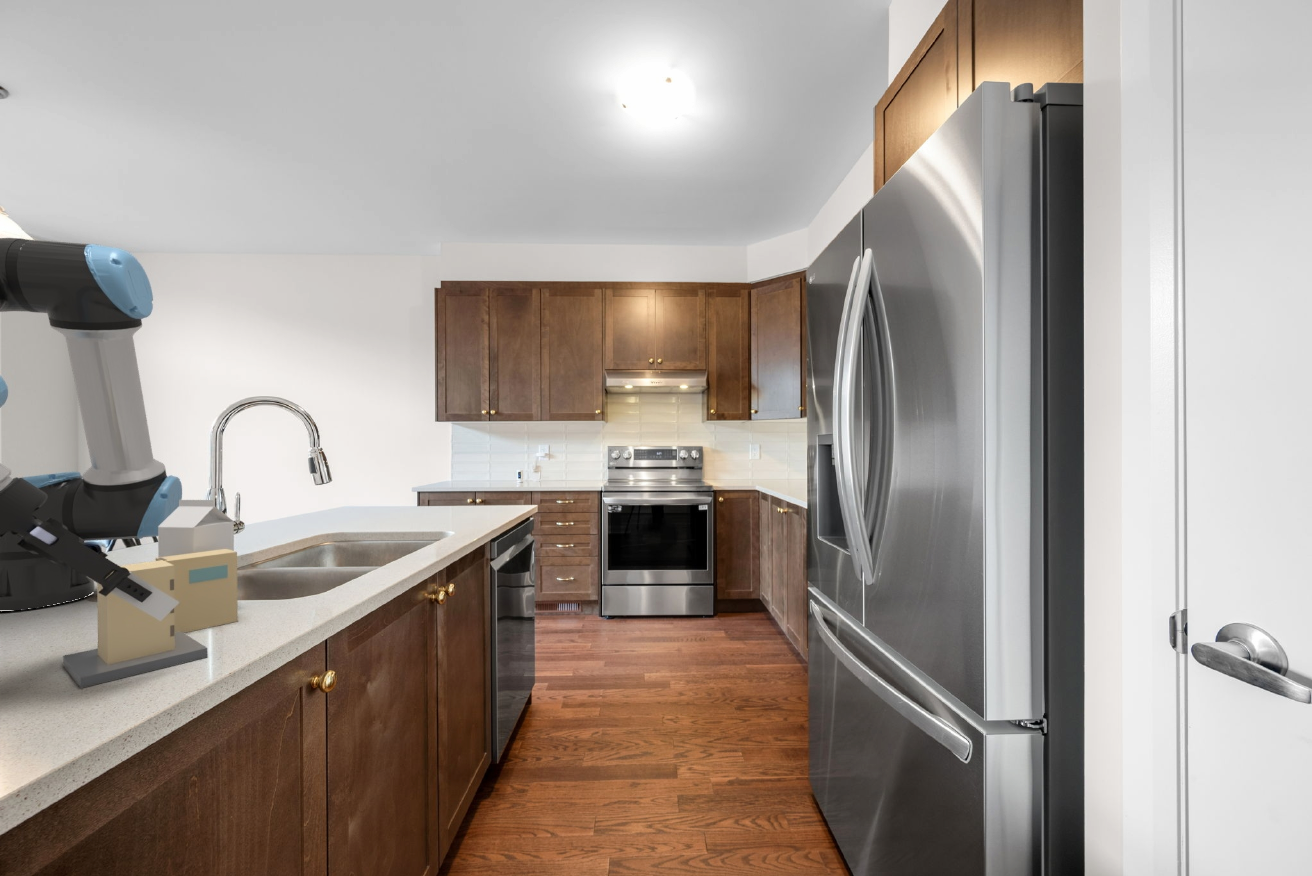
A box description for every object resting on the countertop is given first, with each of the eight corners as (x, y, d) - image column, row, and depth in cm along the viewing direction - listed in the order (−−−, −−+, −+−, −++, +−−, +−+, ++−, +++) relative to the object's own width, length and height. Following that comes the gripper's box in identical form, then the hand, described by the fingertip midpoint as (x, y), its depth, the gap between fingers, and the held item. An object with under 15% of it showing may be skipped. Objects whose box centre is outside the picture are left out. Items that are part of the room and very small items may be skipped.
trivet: (63, 665, 75) (63, 655, 75) (180, 639, 84) (180, 631, 84) (80, 688, 67) (80, 677, 67) (207, 657, 77) (207, 648, 77)
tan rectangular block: (97, 654, 75) (97, 568, 75) (162, 640, 80) (161, 560, 80) (107, 664, 71) (107, 574, 71) (175, 649, 76) (174, 565, 77)
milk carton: (194, 621, 93) (193, 502, 93) (158, 619, 94) (157, 501, 95) (234, 609, 100) (233, 497, 100) (200, 607, 101) (199, 497, 101)
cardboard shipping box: (156, 630, 89) (155, 557, 89) (226, 615, 96) (226, 548, 96) (165, 636, 86) (164, 561, 86) (237, 621, 93) (237, 551, 93)
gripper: (-61, 518, 71) (107, 612, 83) (-50, 535, 56) (154, 647, 68) (4, 472, 75) (155, 568, 87) (31, 476, 60) (209, 592, 72)
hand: (155, 603), depth 77 cm, fingers open, 13 cm apart
